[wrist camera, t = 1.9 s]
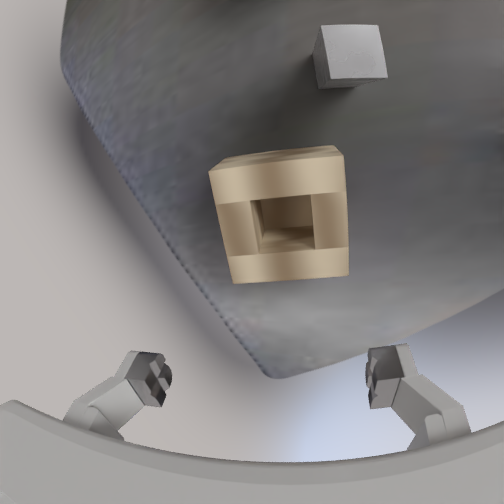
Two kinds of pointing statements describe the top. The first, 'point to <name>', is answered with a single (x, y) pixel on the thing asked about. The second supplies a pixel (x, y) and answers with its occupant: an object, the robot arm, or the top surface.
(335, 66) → the square bit
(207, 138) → the top surface
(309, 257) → the socket block
